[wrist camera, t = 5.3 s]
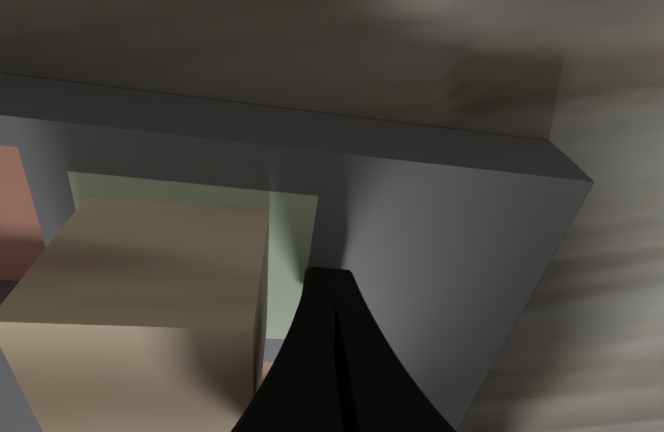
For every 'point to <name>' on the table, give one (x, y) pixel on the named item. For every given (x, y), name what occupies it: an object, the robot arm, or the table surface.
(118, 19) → the table surface
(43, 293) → the maple block
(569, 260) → the table surface
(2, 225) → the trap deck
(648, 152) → the table surface
